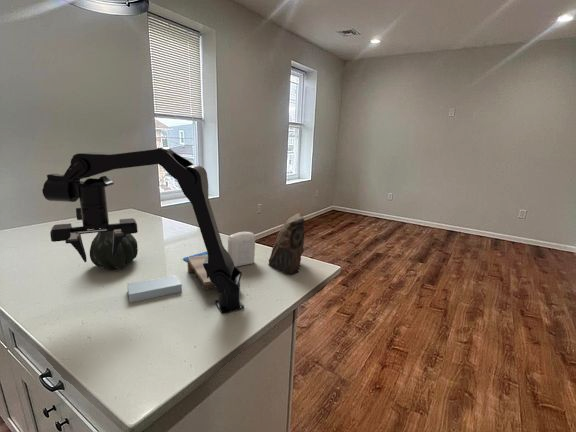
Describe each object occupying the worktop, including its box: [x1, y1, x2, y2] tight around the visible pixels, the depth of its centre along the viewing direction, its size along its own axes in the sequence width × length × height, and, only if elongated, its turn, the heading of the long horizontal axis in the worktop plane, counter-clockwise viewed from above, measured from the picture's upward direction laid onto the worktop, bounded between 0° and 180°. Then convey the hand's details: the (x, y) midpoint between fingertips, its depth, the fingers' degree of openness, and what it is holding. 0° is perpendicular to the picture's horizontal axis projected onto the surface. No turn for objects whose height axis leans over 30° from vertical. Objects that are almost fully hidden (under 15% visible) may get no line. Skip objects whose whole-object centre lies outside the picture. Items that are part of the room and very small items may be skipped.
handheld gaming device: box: [182, 251, 208, 263], centre depth 118 cm, size 8×1×15 cm
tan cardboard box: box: [186, 254, 241, 290], centre depth 100 cm, size 20×11×5 cm, turn 31°
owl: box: [267, 211, 306, 276], centre depth 110 cm, size 13×13×20 cm
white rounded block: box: [227, 231, 256, 268], centre depth 113 cm, size 10×4×12 cm, turn 123°
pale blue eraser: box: [126, 274, 183, 303], centre depth 91 cm, size 7×14×2 cm, turn 121°
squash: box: [89, 228, 139, 271], centre depth 106 cm, size 14×15×15 cm
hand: (100, 259), depth 82 cm, fingers open, 6 cm apart
